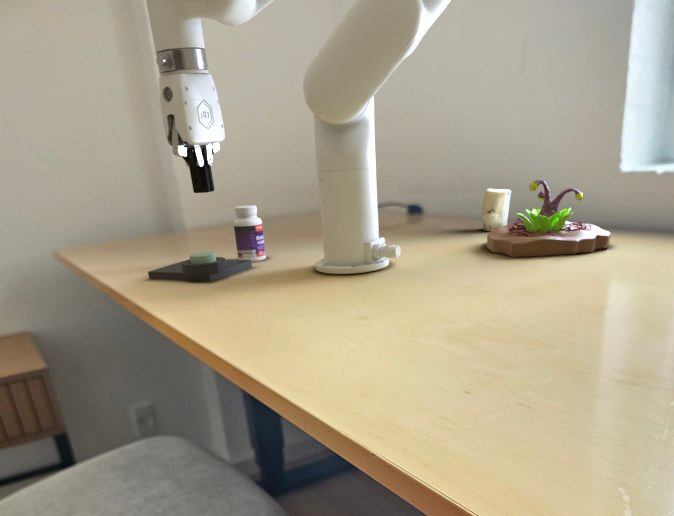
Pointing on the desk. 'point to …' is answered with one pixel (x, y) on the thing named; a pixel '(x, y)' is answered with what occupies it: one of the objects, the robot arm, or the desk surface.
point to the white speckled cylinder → (495, 208)
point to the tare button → (203, 257)
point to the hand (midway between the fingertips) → (204, 191)
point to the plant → (547, 231)
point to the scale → (200, 270)
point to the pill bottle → (249, 234)
